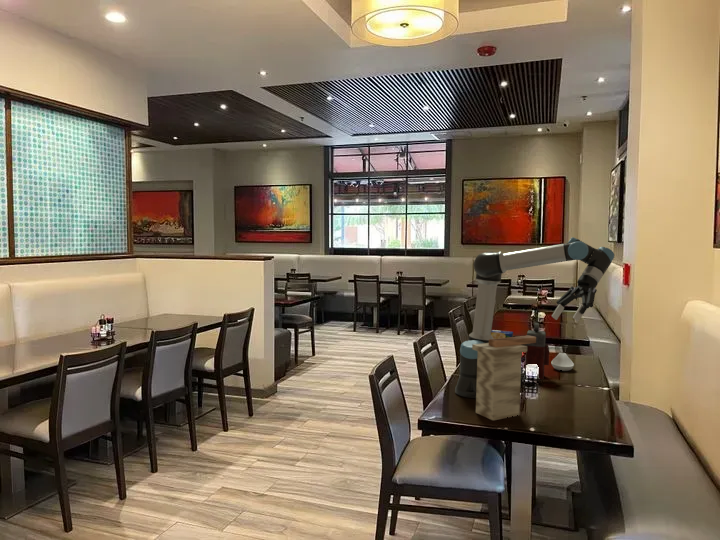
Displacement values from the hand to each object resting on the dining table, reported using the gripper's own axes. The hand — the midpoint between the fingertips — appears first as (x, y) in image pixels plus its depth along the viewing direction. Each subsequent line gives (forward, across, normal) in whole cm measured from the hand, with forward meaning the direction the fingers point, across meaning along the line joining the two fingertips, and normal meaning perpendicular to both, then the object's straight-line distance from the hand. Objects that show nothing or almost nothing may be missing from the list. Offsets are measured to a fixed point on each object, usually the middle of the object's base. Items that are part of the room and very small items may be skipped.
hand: (564, 318), depth 215 cm
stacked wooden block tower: (+49, +2, +1) cm, 49 cm away
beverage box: (+22, +59, -23) cm, 67 cm away
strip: (+23, +1, +13) cm, 26 cm away
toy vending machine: (+14, +48, -36) cm, 61 cm away
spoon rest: (-4, +63, -56) cm, 84 cm away
